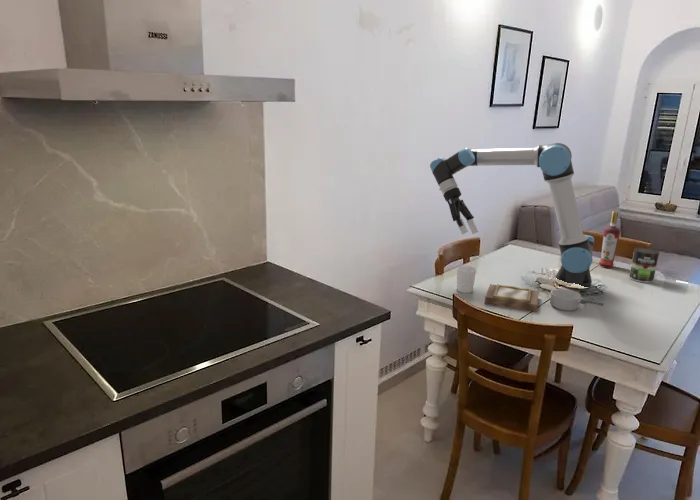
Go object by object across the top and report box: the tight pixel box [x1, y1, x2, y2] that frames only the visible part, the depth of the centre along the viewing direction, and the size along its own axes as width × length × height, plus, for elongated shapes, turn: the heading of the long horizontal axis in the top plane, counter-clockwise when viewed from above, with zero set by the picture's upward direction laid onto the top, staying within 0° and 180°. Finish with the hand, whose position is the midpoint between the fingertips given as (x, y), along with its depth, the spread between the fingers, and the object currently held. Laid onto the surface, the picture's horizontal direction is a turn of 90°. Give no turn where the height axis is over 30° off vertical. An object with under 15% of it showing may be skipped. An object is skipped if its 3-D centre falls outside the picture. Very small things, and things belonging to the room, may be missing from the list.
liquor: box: [598, 210, 621, 269], centre depth 254 cm, size 7×7×28 cm
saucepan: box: [549, 288, 604, 311], centre depth 204 cm, size 12×20×6 cm, turn 45°
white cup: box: [456, 265, 477, 294], centre depth 221 cm, size 8×8×10 cm
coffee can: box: [628, 247, 660, 284], centre depth 238 cm, size 10×10×14 cm
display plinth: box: [484, 283, 540, 313], centre depth 212 cm, size 20×16×4 cm
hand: (470, 233), depth 226 cm, fingers open, 13 cm apart
